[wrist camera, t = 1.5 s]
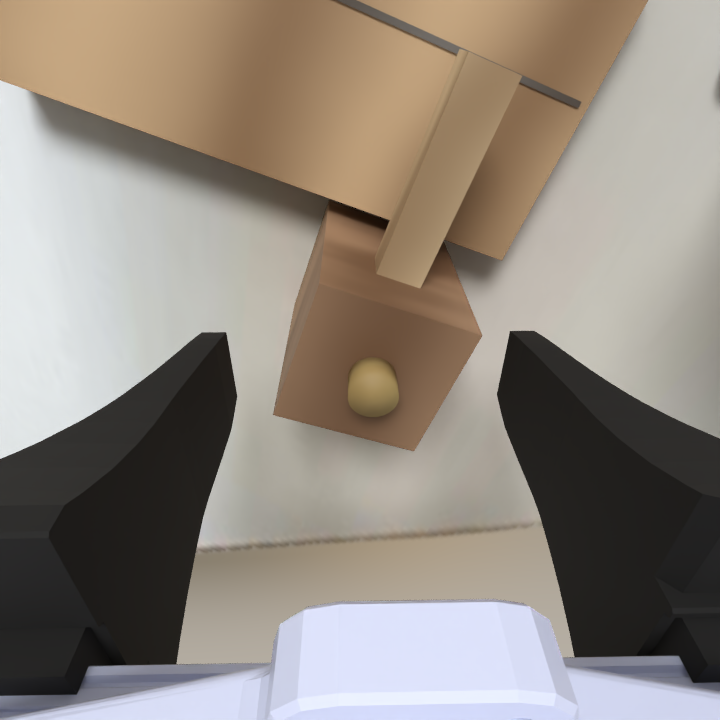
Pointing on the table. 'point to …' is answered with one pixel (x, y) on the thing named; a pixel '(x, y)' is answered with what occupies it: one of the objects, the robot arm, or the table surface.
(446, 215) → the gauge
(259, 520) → the table surface
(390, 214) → the board
